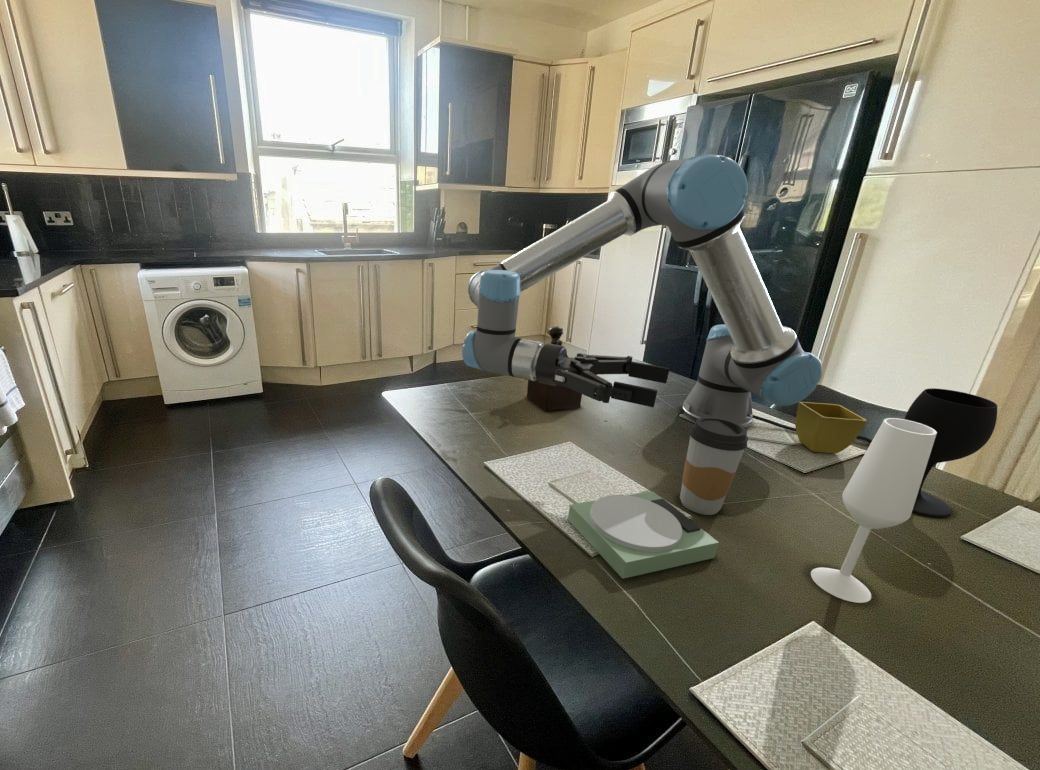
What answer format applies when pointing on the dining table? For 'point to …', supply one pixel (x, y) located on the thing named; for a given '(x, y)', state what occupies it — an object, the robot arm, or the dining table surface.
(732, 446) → the coffee cup
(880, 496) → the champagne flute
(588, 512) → the kitchen scale
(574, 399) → the brown coffee grinder
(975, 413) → the wine glass
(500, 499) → the dining table surface
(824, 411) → the flower pot
